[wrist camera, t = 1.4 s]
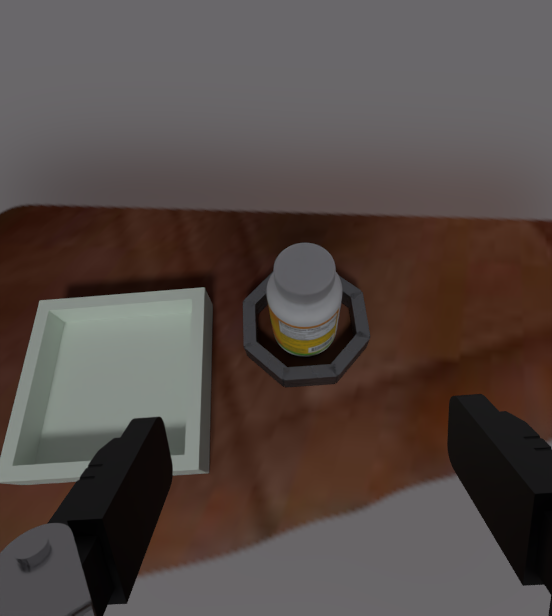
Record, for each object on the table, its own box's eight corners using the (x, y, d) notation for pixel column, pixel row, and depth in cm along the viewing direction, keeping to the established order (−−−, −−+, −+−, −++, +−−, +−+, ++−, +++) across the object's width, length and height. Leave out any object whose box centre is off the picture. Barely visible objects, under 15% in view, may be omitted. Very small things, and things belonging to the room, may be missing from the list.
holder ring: (247, 390, 31) (244, 383, 30) (245, 283, 36) (242, 271, 34) (372, 381, 31) (376, 373, 29) (354, 274, 36) (357, 262, 34)
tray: (24, 484, 29) (-6, 482, 27) (60, 316, 36) (39, 300, 33) (209, 473, 29) (198, 469, 26) (212, 304, 35) (204, 287, 32)
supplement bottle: (283, 294, 35) (277, 225, 27) (342, 309, 34) (355, 242, 26) (264, 348, 33) (250, 292, 24) (327, 366, 32) (335, 314, 23)
